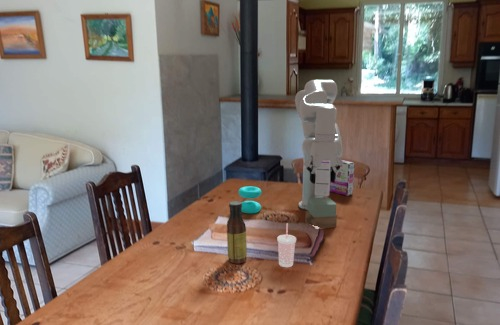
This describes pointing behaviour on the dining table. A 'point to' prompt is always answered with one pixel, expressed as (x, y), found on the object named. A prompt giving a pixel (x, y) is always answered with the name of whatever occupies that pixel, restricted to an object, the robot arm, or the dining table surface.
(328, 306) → the dining table surface
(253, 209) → the donuts
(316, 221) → the tower base
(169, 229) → the dining table surface
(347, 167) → the candy bar box
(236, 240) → the sauce bottle
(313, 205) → the tower top
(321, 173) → the syrup box
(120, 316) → the dining table surface
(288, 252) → the beverage cup
